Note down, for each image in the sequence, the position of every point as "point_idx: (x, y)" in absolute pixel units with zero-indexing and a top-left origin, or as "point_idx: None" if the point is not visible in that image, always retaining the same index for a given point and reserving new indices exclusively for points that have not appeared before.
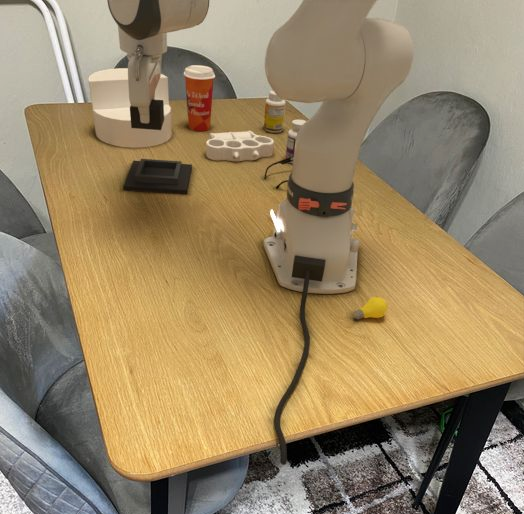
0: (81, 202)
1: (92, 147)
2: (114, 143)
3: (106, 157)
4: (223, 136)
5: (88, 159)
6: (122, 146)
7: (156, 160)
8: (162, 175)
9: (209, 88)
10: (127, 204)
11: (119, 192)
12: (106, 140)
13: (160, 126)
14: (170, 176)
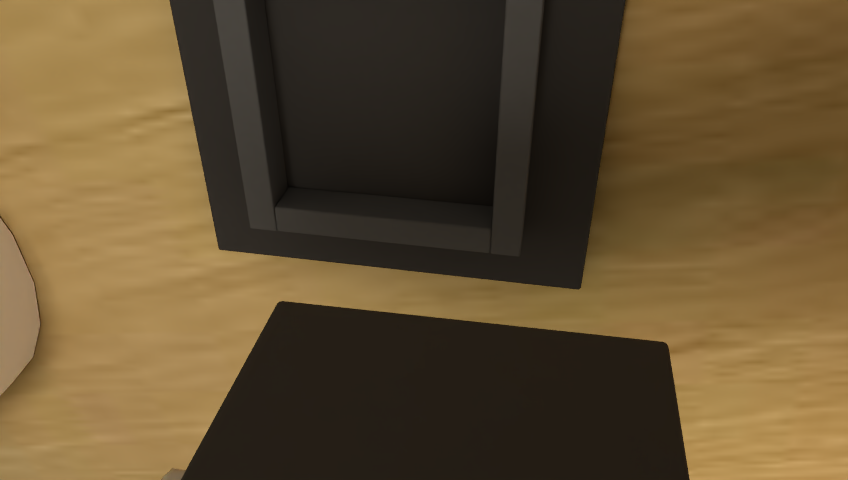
0: (723, 435)
1: (107, 406)
2: (33, 333)
3: (190, 354)
4: None
5: None
6: (34, 294)
7: (248, 134)
8: (397, 72)
9: None
10: (775, 249)
11: (608, 291)
12: (23, 366)
13: (672, 381)
14: (509, 20)
